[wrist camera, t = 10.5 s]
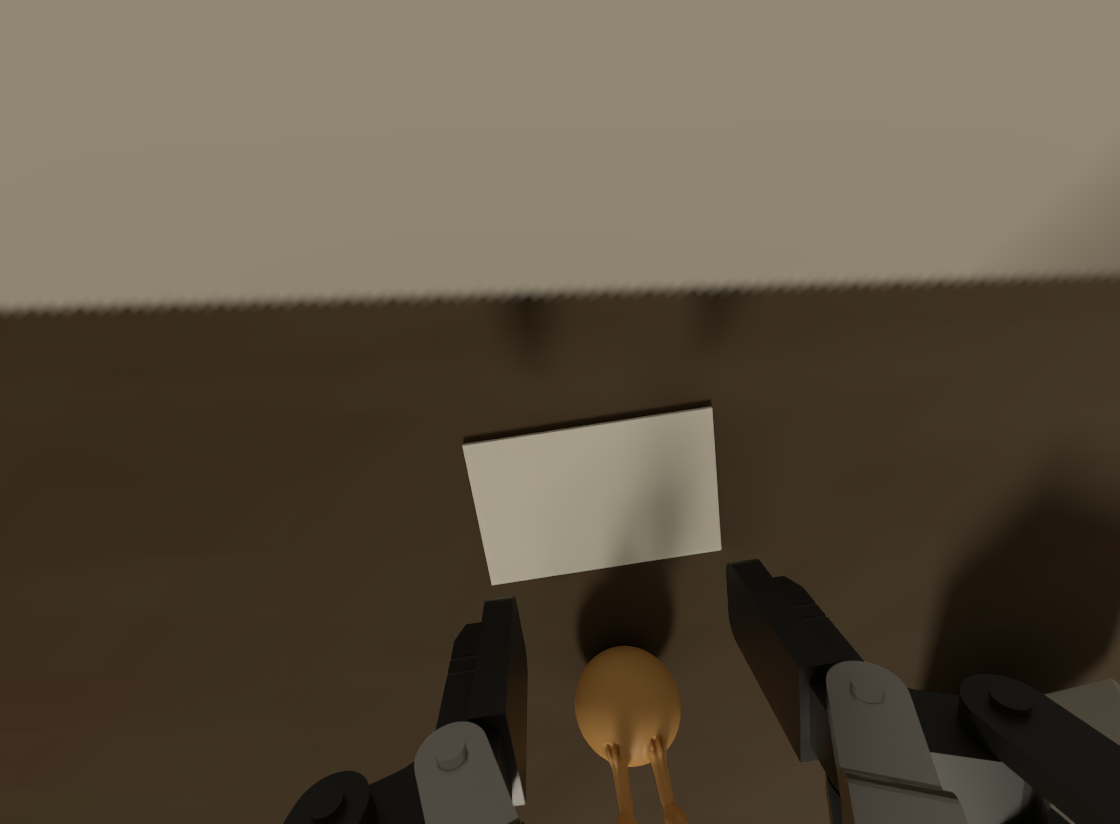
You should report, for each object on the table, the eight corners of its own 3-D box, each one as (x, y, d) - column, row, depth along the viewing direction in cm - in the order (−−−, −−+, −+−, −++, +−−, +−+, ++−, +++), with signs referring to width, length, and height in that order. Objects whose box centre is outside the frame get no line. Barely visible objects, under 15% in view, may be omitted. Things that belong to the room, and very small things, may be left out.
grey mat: (710, 406, 19) (712, 407, 18) (719, 547, 20) (721, 549, 20) (462, 443, 19) (462, 445, 18) (492, 582, 20) (491, 585, 20)
